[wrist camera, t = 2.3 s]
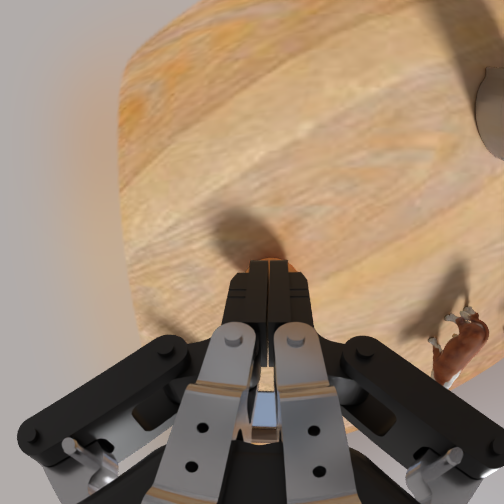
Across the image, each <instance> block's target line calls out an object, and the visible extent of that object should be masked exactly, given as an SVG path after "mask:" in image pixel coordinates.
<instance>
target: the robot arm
mask: <svg viewBox="0 0 504 504" xmlns="http://www.w3.org/2000/svg"><path fill="white" fill-rule="evenodd" d="M476 121H477V126H478V130H479V133H480V136H481V139H482V141H483V143H484V145H485V146H486V148H487V149H488V150H489V152H490V153H492V154H493V155H494V156H495V157H497V158H499V159H501V160H503V161H504V68H497V67H486V77H485V79H484V80H483V82H482V83H481V85H480V87H479V90H478V93H477V98H476ZM268 351H269V367H274V397H275V412H276V429H277V442H275V443H270V444H265V445H254V444H251V433H252V424H253V418H254V412H255V407H256V400H257V394H258V388H259V380H260V374H261V367H267V354H268ZM342 416H343V417H345V418H346V419H347V420H348V421H349V422H350V423H351V424H353V425H354V426H355V427H356V428H357V429H358V430H360V431H361V432H362V433H363V434H364V435H366V436H367V437H368V438H369V439H370V440H371V441H373V442H374V443H375V444H376V445H378V446H379V447H380V448H381V449H382V450H384V451H385V452H386V453H387V454H389V455H390V456H391V457H392V458H394V459H395V460H396V461H397V462H399V463H400V464H401V465H402V466H404V467H405V468H406V469H408V470H407V473H406V485H407V487H408V489H409V490H410V491H411V492H412V493H413V494H414V496H415V498H413V497H412V496H411V495H410V494H409V493H407V492H406V491H405V490H404V489H403V488H401V487H400V486H399V485H398V484H397V483H396V482H394V481H393V480H392V479H391V478H390V477H389V476H388V475H386V474H385V473H384V472H383V471H382V470H381V469H380V468H378V467H377V466H376V465H375V464H374V463H373V462H372V461H371V460H370V459H369V458H367V457H366V456H365V455H363V454H362V453H360V452H359V451H357V450H354V449H353V448H350V447H348V442H347V437H346V432H345V427H344V422H343V417H342ZM172 425H173V427H172V430H171V433H170V436H169V439H168V442H167V444H166V445H164V446H162V447H160V448H158V449H156V450H154V451H153V452H152V453H150V454H149V455H148V456H146V457H145V458H144V459H142V460H141V461H140V462H138V463H137V464H136V465H134V466H133V467H131V468H130V469H129V470H127V471H126V472H124V473H123V474H122V475H120V476H119V477H118V463H119V462H121V461H122V460H124V459H125V458H127V457H128V456H130V455H131V454H133V453H134V452H136V451H137V450H139V449H140V448H142V447H143V446H145V445H146V444H147V443H149V442H150V441H152V440H153V439H154V438H156V437H157V436H158V435H160V434H161V433H163V432H164V431H165V430H167V429H168V428H169V427H171V426H172ZM17 440H18V445H19V447H20V448H21V450H22V451H23V452H24V453H25V454H27V455H28V456H30V457H31V458H33V459H34V460H36V461H37V462H38V463H39V464H40V465H41V466H42V467H43V469H44V471H45V473H46V475H47V477H48V479H49V481H50V483H51V485H52V487H53V489H54V491H55V493H56V495H57V496H58V498H59V500H60V502H61V503H62V504H467V503H468V502H469V500H470V499H471V497H472V496H473V494H474V493H475V491H476V490H477V488H478V486H479V485H480V483H481V482H482V480H483V479H484V478H485V477H486V476H488V475H490V474H491V473H493V472H495V471H496V470H498V469H499V468H501V467H503V466H504V429H503V428H502V427H501V426H499V425H498V424H496V423H495V422H493V421H492V420H491V419H489V418H488V417H486V416H485V415H484V414H482V413H481V412H479V411H478V410H476V409H475V408H473V407H472V406H471V405H469V404H468V403H466V402H465V401H464V400H462V399H461V398H459V397H458V396H456V395H455V394H454V393H452V392H451V391H449V390H448V389H447V388H445V387H444V386H442V385H441V384H439V383H438V382H437V381H435V380H434V379H432V378H431V377H429V376H428V375H427V374H425V373H424V372H422V371H421V370H419V369H418V368H417V367H415V366H414V365H412V364H411V363H410V362H408V361H407V360H405V359H404V358H402V357H401V356H400V355H398V354H397V353H395V352H394V351H392V350H391V349H390V348H388V347H387V346H385V345H384V344H382V343H381V342H380V341H378V340H377V339H375V338H372V337H369V336H356V337H353V338H351V339H350V340H348V341H347V342H346V343H345V344H342V343H337V342H333V341H329V340H327V339H325V338H323V337H322V336H320V335H319V334H318V333H317V332H316V330H315V328H314V325H313V317H312V310H311V303H310V298H309V290H308V282H307V279H306V278H305V277H304V275H303V274H302V273H301V272H288V260H270V271H269V262H268V260H251V261H250V267H249V273H237V274H236V275H235V276H234V277H233V278H232V280H231V282H230V286H229V291H228V296H227V300H226V305H225V310H224V315H223V319H222V324H221V326H219V327H218V328H217V329H216V330H215V331H214V332H213V335H212V337H211V338H209V339H207V340H204V341H200V342H196V343H190V344H186V342H185V341H184V340H183V339H182V338H181V337H179V336H176V335H163V336H160V337H157V338H156V339H154V340H152V341H151V342H149V343H148V344H146V345H145V346H143V347H142V348H140V349H139V350H137V351H136V352H134V353H132V354H131V355H129V356H128V357H126V358H125V359H123V360H122V361H120V362H118V363H117V364H115V365H114V366H112V367H111V368H109V369H108V370H106V371H104V372H103V373H101V374H100V375H98V376H96V377H95V378H93V379H92V380H90V381H89V382H87V383H85V384H84V385H82V386H81V387H79V388H77V389H76V390H74V391H73V392H71V393H69V394H68V395H66V396H65V397H63V398H61V399H60V400H58V401H57V402H55V403H53V404H52V405H50V406H49V407H47V408H45V409H43V410H42V411H40V412H39V413H37V414H35V415H34V416H32V417H30V418H29V419H27V420H26V421H24V422H23V423H22V425H21V426H20V428H19V430H18V434H17Z"/></svg>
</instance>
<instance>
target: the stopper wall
mask: <svg viewBox="0 0 504 504" xmlns="http://www.w3.org/2000/svg"><path fill="white" fill-rule="evenodd" d="M251 442H253V443H275V442H277V429H252V433H251Z"/></svg>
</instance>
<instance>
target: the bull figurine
mask: <svg viewBox="0 0 504 504" xmlns="http://www.w3.org/2000/svg"><path fill="white" fill-rule="evenodd" d="M460 315H461V317H457V316H455V315H454V314H452V313H451V314H450V315H447V316H446V317H445V321H452V322H454V323H456V324H457V325H458V328H459V332H460V334H459V335H457V334H453V335H452V337H453V338H452V339H451V340H449V342H448V343H447V344H446V346H445V348H444V350H442V349H441V346H440V345H439V344H438V345H437V339H435V338H430V339H429V340H428V342H429V343H431V344H432V345H433V354H434V355H433V369H432V371H431V378H432V379H434V380H435V381H437V382H438V383H439V384H441V385H442V386H444V387H445V388H447V389H448V388H449V387H450V386H451V385H452V383H453V381H454V380H455V379H456V378H457V377H458V376H459V375H460V373H461V371H462V370H463V369H464V367H465V366H466V365H467V364H468V363H469V362H470V360H471V359H472V358H473V357H474V356H475V355H476V354H477V353H478V352H479V351H480V350H481V348H482V347H483V346H484V345H485V343H486V342H487V340H488V337H489V330H488V327H487V325H486V324H485V323H484V322H483V321H481V320H479V314H478V313H476V312H475V311H474V310H473V309H472V307H471V306H470V307H465V308H464V309H463V311H460ZM465 320H467V321H465ZM468 320H469V321H471V323H470V322H469V321H468Z"/></svg>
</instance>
